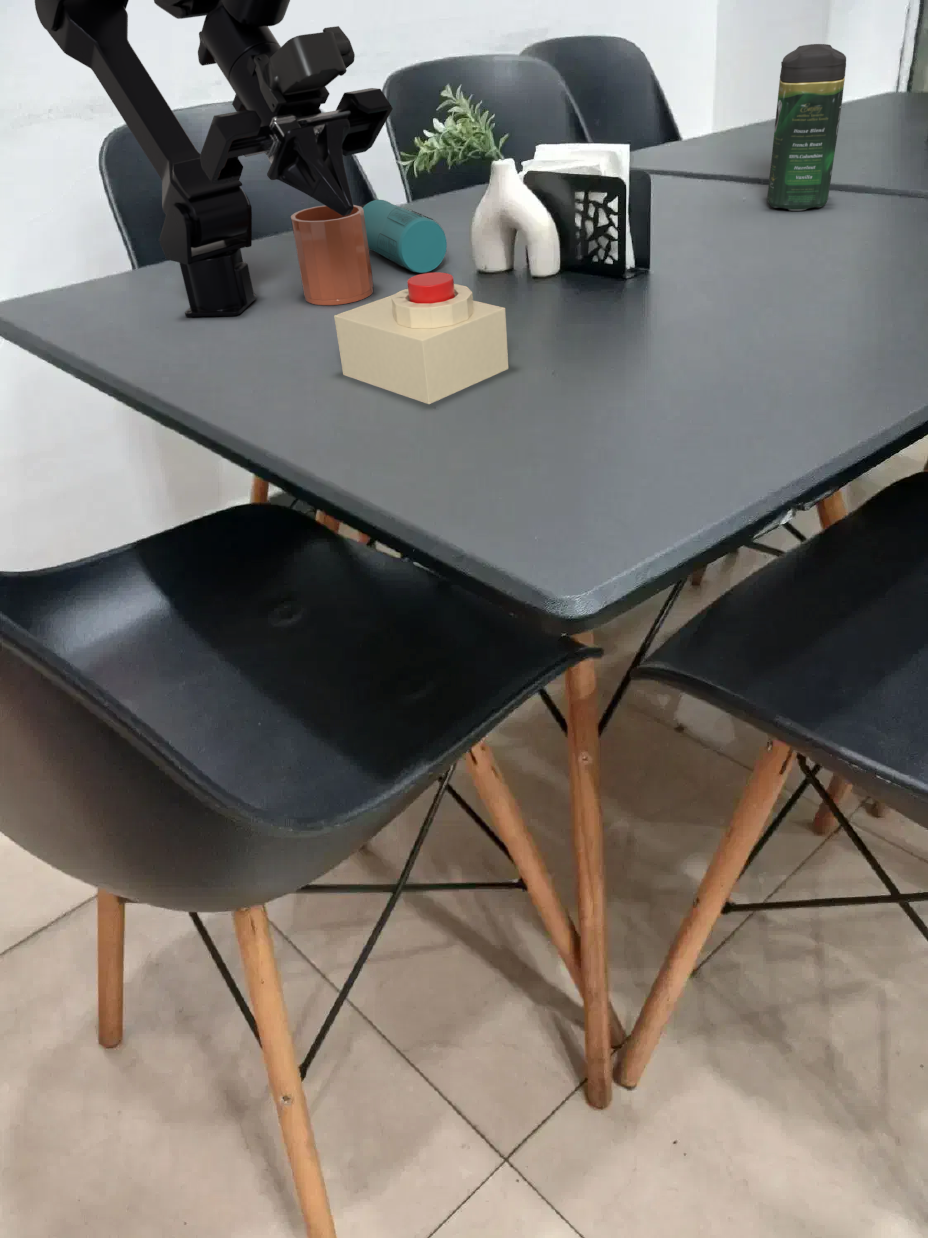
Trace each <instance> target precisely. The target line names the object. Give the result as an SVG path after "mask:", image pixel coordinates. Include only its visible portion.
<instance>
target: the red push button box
mask: <svg viewBox="0 0 928 1238" xmlns="http://www.w3.org/2000/svg"><path fill="white" fill-rule="evenodd" d="M454 292H455V298H452V299H450V300H447V301H444V302H438V303H431V304H425V303H413V302H410V301H409V292H408V287H407V288H405V289H402V290H399V291H398V292H396V293H394V294H391V295H389V296H386V297H382V298H379V299H377V300H373V301H372V302H369V303H365V304H363V305H360V306H357V307H354V308H352V309H349V310H346V311H343V312H341V313H338V314H334V317H333V319H334V324H335V329H336V336H337V343H338V349H339V356H340V362H341V369H342V370H341V371H342V375H343V376H346V377H348V378H351V379H354V380H358V381H360V382H362V383H366V384H368V385H371V386H374V387H377V388H380V389H383V390H386V391H389V392H392V393H394V394H398V395H401V396H403V397H406V398H410V399H413V400H415V401H418V402H421V403H424V404H427V405H430V404H433V403H435V402H438V401H439V400H443V399H444V398H446V397H449V396H451V395H453V394H455V393H458V392H460V391H462V390H464V389H467V388H468V387H471V386H474V385H476V384H478V383H480V382H482V381H485V380H487V379H489V378H491V377H494V376H495V375H498V374H500V373H502V372H504V371H507V370H509V355H508V354H509V351H508V336H507V335H508V333H507V316H506V315H507V314H506V307H503V306H498V305H494V304H490V303H486V302H481V301H478V300H474V297H473V294H474V293H473V291H472V289H470V288H469V287H468V286H466V285H462V284H457V283H454Z"/></svg>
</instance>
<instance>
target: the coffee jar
mask: <svg viewBox="0 0 928 1238" xmlns="http://www.w3.org/2000/svg"><path fill="white" fill-rule="evenodd" d="M780 67H781V68H780V73H779V81H778V82H779V83H778V90H777V91H778V92H777V102H776V112H775V121H774V129H773V141H772V151H771V160H770V168H769V169H770V170H769V178H768V188H767V202H768V204H769V206H770V207H771V208H774V209H786V210H788V211H792V212H793V211H794V212H800V211H801V212H803V211H806V210H808V209H813V208H822V207H824V206H825V205H826V204H827V202H828V200H829V195H830V190H831V189H830V188H831V182H832V176H833V169H834V160H835V153H836V148H837V142H838V141H837V140H838V133H839V128H840V121H841V115H842V113H841V112H842V104H843V96H844V88H845V79H846V71H847V70H846V68H847V55H845V54H844V53H843V52H842V51H839V50H838V49H835V48H834V47H832V45H831V44H827V43H812V44H803V45H799V46H798V47H797V48H796V49H794V50H793V51H790V52H789V53H787V54H786V55H785V56H783V59H782V61H781V62H780Z"/></svg>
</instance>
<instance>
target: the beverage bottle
mask: <svg viewBox="0 0 928 1238" xmlns="http://www.w3.org/2000/svg"><path fill="white" fill-rule="evenodd" d="M359 206H360V207H362V208H363V210H364V218H365V225H366V233H367V241H368V249H369V251H373V252H375V253H377V254H379V255H380V256H381V257H384V258H385V259H387V260H389V261H391V263H393V264H395V265H397V266H399V267H401V268H403V269H405V270H406V271H409V272H410V273H415V274H416V275H418V274H424V273H430V272H432V271H433V270H435V269H436V268H437V267H438V266H440V264H441V263H442V262H443V260H444V259H445V256H446V253H447V247H448V244H447V243H448V242H447V237H446V233H445V230H444V229H443V227H442V226H441V224H440V223H438V222H437V221H436V220H434V218H432V217H428V216H427V215H425V214H422V213H419V212H416V211H415V210H413V209H409V208H407V207H406V208H405V207H402V206H398V205H396V204H394V203H391V202H390V201H388V200H386V199H374V200H371V201H369V202H368V203H365V204H362V205H359Z"/></svg>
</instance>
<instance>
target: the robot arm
mask: <svg viewBox="0 0 928 1238" xmlns="http://www.w3.org/2000/svg"><path fill="white" fill-rule="evenodd" d="M290 2H291V0H153V3H154V4H155V5H156V6H157V7H158V8H160V9H162V10H163V11H164V12H166V13H167V14H169V15H170V16H172V17H173V18H175V19H178V20H182V19H189V18H190V19H191V18H198V17H205V18H204V21H203V25H202V28H201V30H200V31H199V32H198V38H199V44H198V48H197V58H198V63H199V65H200V66H201V67H202V66H210V65H217V67H218V69H220V71H221V73H222V74H223V76H224V78H225V79H226V80H227V82H228V84H229V85H230V87H231V89H232V91H233V92H234V93H235V95H234V98H233V100H232V103H231V106H232V107H233V109H234V110H235V111H233V112H226V113H221V114H215V115H213V118H212V121H211V123H210V126H209V128H208V132H207V134H206V137H205V140H204V143H203V146H202V148H201V151H200V152H199V150H198V148H197V147H196V146H195V144H194V143H193V141H192V140H191V138H190V136H189V135H188V134H187V132H186V131H185V128H184V127H183V126H182V124H181V122H180V121H179V119H178V118H177V116H176V115H175V113H174V111H173V110H172V108H171V107H170V105H169V103H168V102H167V100H166V98H165V97H164V96H163V94H162V92H161V91H160V89H159V88H158V86H157V84H156V83H155V81H154V80H153V78H152V76H151V75H150V74H149V72H148V70H147V69H146V67H145V66H144V64H143V62H142V60H141V59H140V57H139V56H138V55H137V53H136V51H135V50H134V48H133V46H132V44H131V43H130V41H129V37H128V36H129V35H128V34H129V31H128V30H129V13H128V11H127V6H128V4H129V0H34V8H35V11H36V15H37V18H38V21H39V22H40V24H41V25H42V27H43V29H44V30H46V31H47V33H48V34H49V36H50V37H51V38H52V40H54V42H55V43H56V45H57V46H58V47H59V48H60V50H61V51H62V52H63V54H65V55H66V56H68V57H70V58H72V59H73V60H75V61H77V62H78V63H80V64H82V65H84V66H85V67H87V68H89V69H90V70H91V71H92V72H93V74H94V76H95V77H96V78H97V80H98V81H99V83H100V85H101V86H102V88H103V90H104V91H105V93H106V94H107V96H108V97H109V99H110V101H111V102H112V104H113V106H114V107H115V108H116V110H117V112H118V113H119V115H120V116H121V118H122V119H123V121H124V123H125V124H126V126H127V127H128V129H129V131H130V132H131V134H132V135H133V137H134V138H135V140H136V142H137V143H138V145H139V146H140V149H141V150H142V151H143V153H144V154H145V156H146V158H147V159H148V161H149V162H150V164H151V165H152V167H153V169H154V170H155V172H156V174H157V175H158V177H159V178H160V180H161V207H162V210H163V213H164V214H165V218H164V222H163V225H162V229H161V232H160V235H159V244H160V247H161V249H162V251H163V254H164V256H165V258H166V260H167V261H171V262H175V263H178V264H179V267H180V271H181V275H182V279H183V282H184V283H183V284H184V288H185V292H186V296H187V301H188V305H189V308H188V309H186V310H185V311H184V316H185V317H187V318H191V317H193V318H194V317H195V318H196V317H224V316H225V317H227V316H238V315H240V314H241V313H242V312H244V311H245V310H246V309H247V308H248V307H249V306H250V305H251V304H252V303H253V302H254V301H255V300H256V299H257V295H256V294H255V293H254V289H253V284H252V279H251V274H250V268H249V264H248V263H247V262H246V261H244V260H243V255H242V249H244V248H251V247H252V245H253V244H252V243H253V242H252V241H253V240H252V239H253V235H252V234H253V233H252V232H253V231H252V230H253V214H252V213H253V211H252V205H251V202H250V199H249V197H248V195H247V193H246V192H245V191H244V190H243V188H242V186H243V183H242V181H240V178H241V176H242V173H243V169H244V165H243V164H242V162H241V160H240V159H239V157H243V156H244V157H246V158H247V157H252V156H256V155H261V154H265V156H266V157H267V160H268V162H269V163H270V165H269V167H268V171H267V172H266V175H267V178H268V179H269V180H270V181H276V180H277V181H280V182H282V183H284V184H286V185H287V186H290V187H292V188H294V189H295V190H297V191H299V192H302V194H305V195H307V196H309V197H310V198H312V199H314V200H316V201H317V202H319V203H320V204H322V205H323V206H324V205H325V206H327V207H329V208H330V209H332V210H334V211H335V212H337V213H339V214H340V215H342V216H345V215H349V214H351V212H352V210H353V208H354V206H353V205H354V202H353V197H352V193H351V189H350V185H349V181H348V176H347V172H346V168H345V163H344V157H348V156H349V157H350V156H352V155H356V154H362V153H365V152H368V150H370V149H371V148H372V147H373V145H374V144H375V142H376V140H377V138H378V137H379V135H380V134H381V132H382V129H383V127H384V125H385V124H386V122H387V120H388V118H389V116H390V115H391V114H392V111H393V110H394V108H393V106H392V104H391V103H390V101H389V100H388V98H387V97H386V95H385V93H384V92H383V90H382V89H381V88H376V87H370V88H364V89H358V90H353V91H346V92H343V94H342V97H341V98H340V101H339V102H338V105H337V107H336V109H335V110H330V111H325V112H322V111H321V105H323V104H326V103H327V101H328V98H329V96H330V92H329V90H328V88H327V86H328V85H329V84H330V83H331V82H333V81H334V80H336V78H338V77H339V76H340V77H342V76H344V75H345V74H346V73H347V71H348V70H347V69H348V68H349V67H351V66H352V64H354V62H355V57H356V56H355V55H356V54H355V51H354V48H353V46H352V43H351V40H350V38H349V37H348V36H347V35H346V33H345V32H344V31H343V30H342V29H341V27H340V26H339V25H336V26H328V27H324V28H323V29H322V32H315V33H305V34H300V35H296V36H294V37H291V38H289V39H288V40H287V41H286V42H285V43H283V44H282V45H280V43H279V42H278V40H277V38H276V37H275V35H274V34H273V33H272V31H271V29H270V27H274V26H276V25H278V24H280V23H281V22H282V21H283V20H284V18H285V16H286V13H287V10H288V8H289V4H290Z"/></svg>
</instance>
